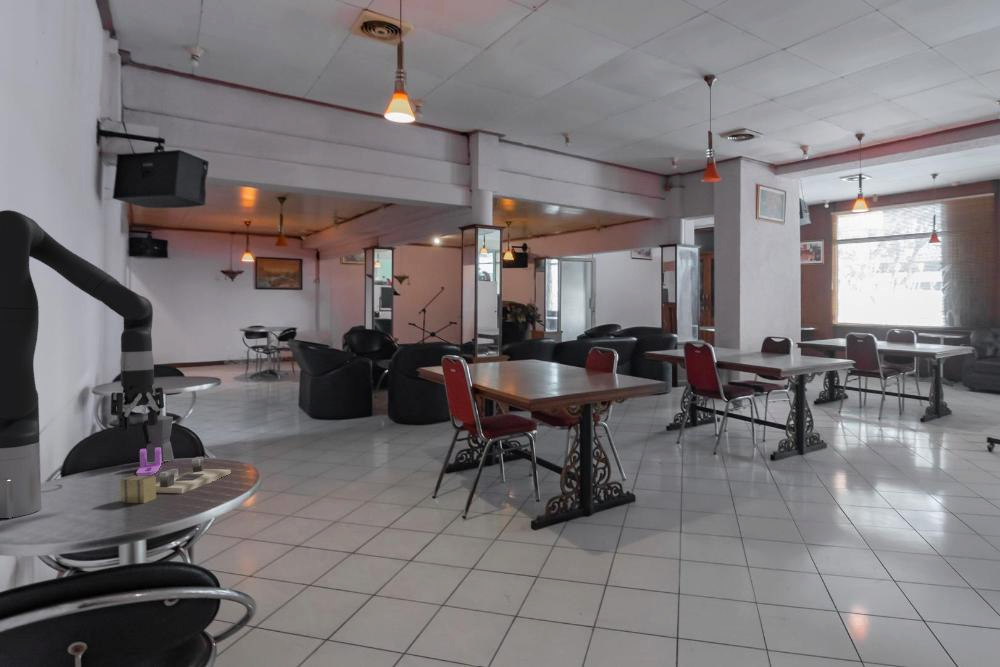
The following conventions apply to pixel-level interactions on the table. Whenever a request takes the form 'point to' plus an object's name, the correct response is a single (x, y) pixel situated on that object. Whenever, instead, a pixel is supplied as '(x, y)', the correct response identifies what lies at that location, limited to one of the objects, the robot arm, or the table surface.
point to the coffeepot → (158, 437)
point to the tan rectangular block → (138, 489)
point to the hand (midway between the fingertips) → (139, 428)
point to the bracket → (146, 466)
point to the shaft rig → (188, 478)
